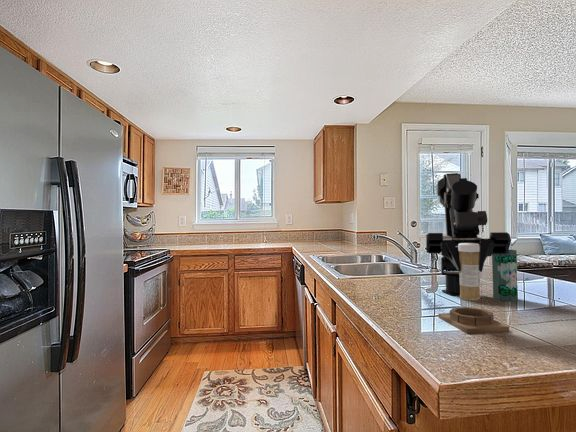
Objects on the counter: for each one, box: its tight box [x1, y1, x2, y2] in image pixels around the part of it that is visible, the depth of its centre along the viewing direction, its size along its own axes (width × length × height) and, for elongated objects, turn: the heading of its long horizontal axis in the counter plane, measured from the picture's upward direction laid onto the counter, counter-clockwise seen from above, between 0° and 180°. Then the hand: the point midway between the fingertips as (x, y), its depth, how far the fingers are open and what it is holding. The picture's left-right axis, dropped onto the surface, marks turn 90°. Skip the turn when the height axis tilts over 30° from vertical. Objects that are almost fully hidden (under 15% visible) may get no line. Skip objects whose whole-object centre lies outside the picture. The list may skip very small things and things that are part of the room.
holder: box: [437, 306, 510, 334], centre depth 81 cm, size 12×10×3 cm
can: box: [491, 249, 519, 303], centre depth 103 cm, size 6×6×15 cm
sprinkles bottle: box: [458, 243, 481, 301], centre depth 82 cm, size 5×5×13 cm
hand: (470, 270), depth 80 cm, fingers closed on sprinkles bottle, 4 cm apart
